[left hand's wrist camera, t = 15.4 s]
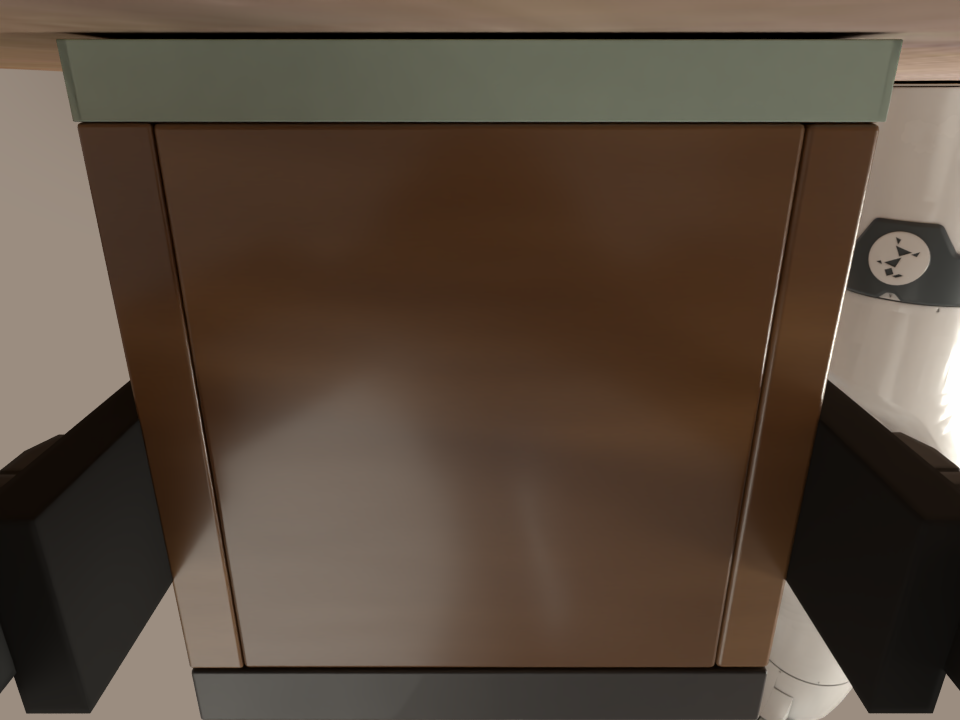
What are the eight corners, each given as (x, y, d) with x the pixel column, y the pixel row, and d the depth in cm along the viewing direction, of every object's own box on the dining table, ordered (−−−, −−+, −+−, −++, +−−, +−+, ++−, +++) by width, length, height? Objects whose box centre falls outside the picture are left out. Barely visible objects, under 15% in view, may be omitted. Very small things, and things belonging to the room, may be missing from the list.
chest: (628, 72, 21) (608, 345, 24) (330, 71, 21) (351, 345, 24) (903, 39, 7) (770, 670, 11) (55, 38, 7) (188, 670, 11)
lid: (605, 341, 25) (590, 541, 28) (354, 342, 25) (368, 541, 28) (769, 672, 11) (701, 993, 14) (189, 671, 11) (257, 993, 14)
